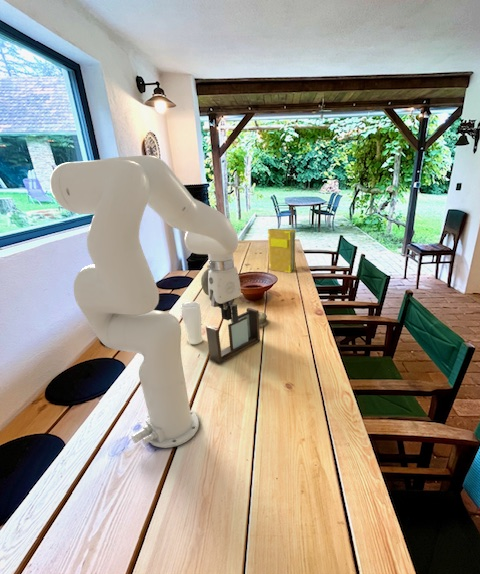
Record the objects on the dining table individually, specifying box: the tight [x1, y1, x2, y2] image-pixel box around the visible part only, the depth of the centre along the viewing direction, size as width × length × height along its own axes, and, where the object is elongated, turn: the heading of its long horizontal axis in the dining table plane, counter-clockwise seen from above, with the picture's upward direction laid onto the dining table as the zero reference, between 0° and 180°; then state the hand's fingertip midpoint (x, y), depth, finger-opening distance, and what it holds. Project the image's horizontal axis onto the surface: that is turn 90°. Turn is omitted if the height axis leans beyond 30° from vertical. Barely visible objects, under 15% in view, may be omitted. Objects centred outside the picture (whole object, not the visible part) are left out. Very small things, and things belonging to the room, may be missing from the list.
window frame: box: [205, 307, 261, 365], centre depth 112 cm, size 20×5×12 cm, turn 139°
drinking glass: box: [180, 301, 203, 345], centre depth 119 cm, size 7×7×15 cm
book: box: [267, 228, 296, 274], centre depth 202 cm, size 17×7×25 cm, turn 58°
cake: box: [259, 311, 268, 328], centre depth 134 cm, size 10×10×5 cm
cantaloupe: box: [200, 268, 210, 297], centre depth 164 cm, size 14×14×15 cm
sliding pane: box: [227, 303, 248, 350], centre depth 111 cm, size 8×2×16 cm, turn 139°
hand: (227, 318), depth 106 cm, fingers closed
